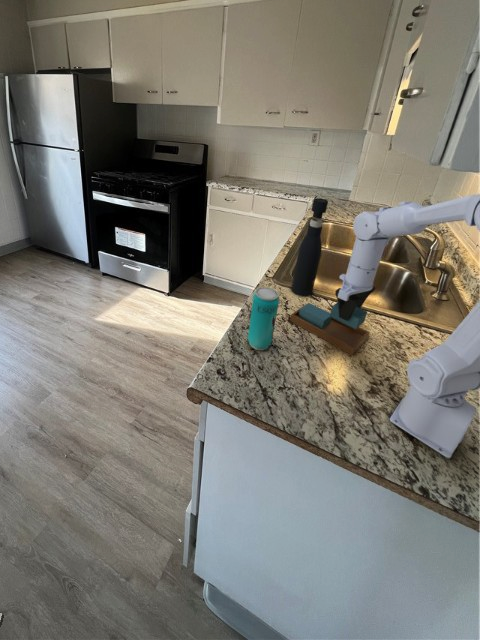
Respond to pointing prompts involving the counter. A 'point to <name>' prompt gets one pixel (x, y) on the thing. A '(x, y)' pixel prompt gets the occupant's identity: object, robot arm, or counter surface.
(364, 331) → the back plate
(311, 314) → the mounted pad
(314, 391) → the counter surface
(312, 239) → the black water bottle
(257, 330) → the beverage can
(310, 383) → the counter surface
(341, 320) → the loose pad
